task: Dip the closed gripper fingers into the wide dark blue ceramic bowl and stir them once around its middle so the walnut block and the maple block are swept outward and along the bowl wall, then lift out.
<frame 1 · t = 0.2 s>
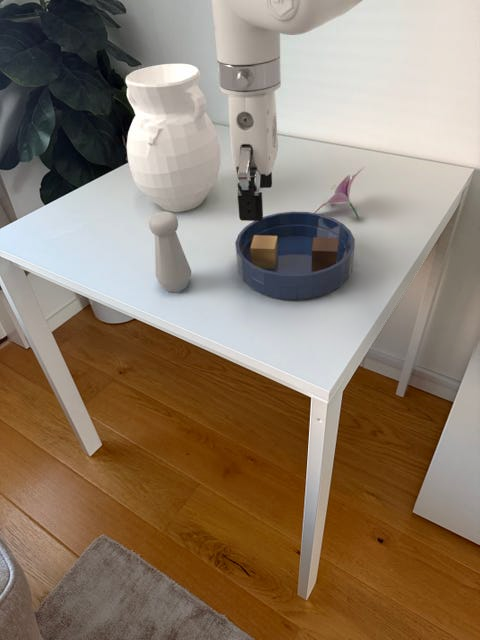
hand: (256, 202, 69), 14 cm above the table, tool pointing down, fingers open, 9 cm apart
lily: (338, 214, 94), on the table
salt shaker: (176, 286, 80), on the table
bowl: (294, 266, 82), on the table
white vase: (182, 201, 102), on the table
maple block: (264, 261, 82), point 1 cm above the table, touching bowl
walnut block: (324, 264, 80), point 1 cm above the table, touching bowl
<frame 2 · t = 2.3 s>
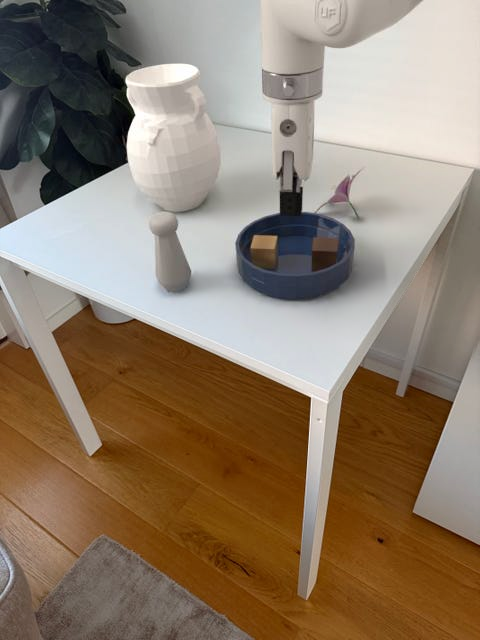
hand: (290, 213, 72), 12 cm above the table, tool pointing down, fingers closed
nothing on the table moved.
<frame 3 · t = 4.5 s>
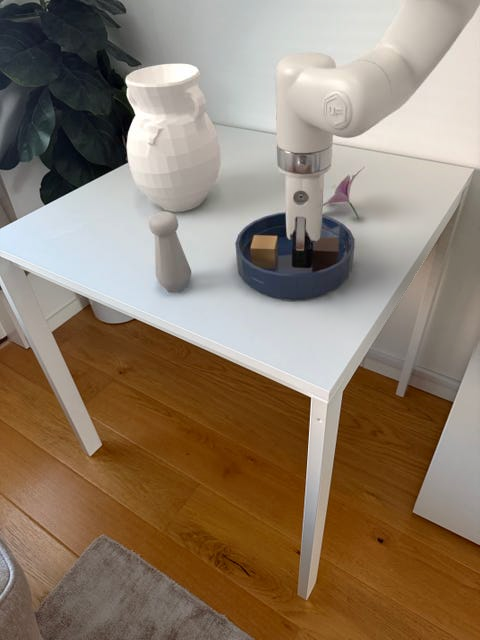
hand: (302, 264, 78), 2 cm above the table, tool pointing down, fingers closed
walnut block: (324, 264, 80), point 1 cm above the table, touching bowl, gripper
everything else where it was.
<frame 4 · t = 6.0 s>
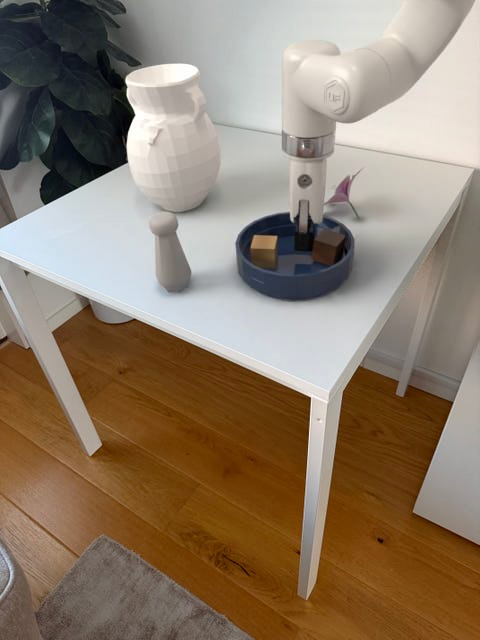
hand: (304, 248, 81), 3 cm above the table, tool pointing down, fingers closed
walnut block: (326, 258, 81), point 1 cm above the table, touching bowl, gripper
everything else where it was.
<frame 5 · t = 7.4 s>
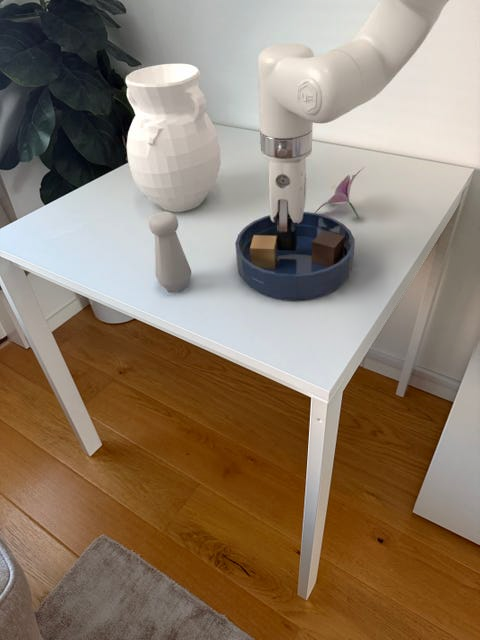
hand: (287, 247, 82), 2 cm above the table, tool pointing down, fingers closed
maple block: (264, 261, 82), point 1 cm above the table, touching bowl, gripper
walnut block: (327, 258, 82), point 1 cm above the table, touching bowl
everything else where it was.
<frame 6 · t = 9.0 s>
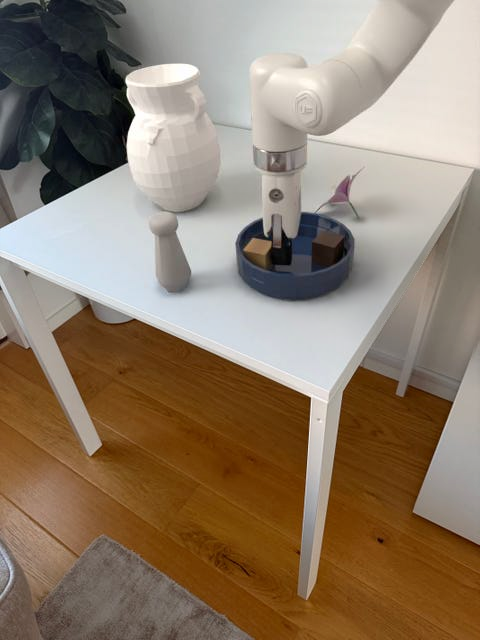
hand: (282, 262, 80), 2 cm above the table, tool pointing down, fingers closed
maple block: (260, 266, 81), point 1 cm above the table, touching bowl
everything else where it was.
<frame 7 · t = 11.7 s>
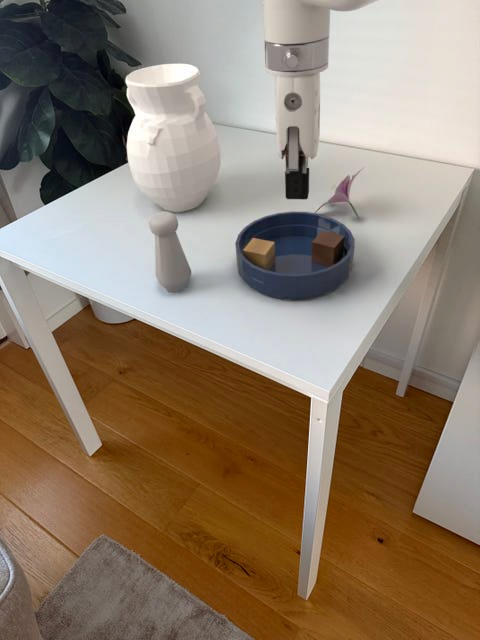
hand: (297, 196, 69), 15 cm above the table, tool pointing down, fingers closed
nothing on the table moved.
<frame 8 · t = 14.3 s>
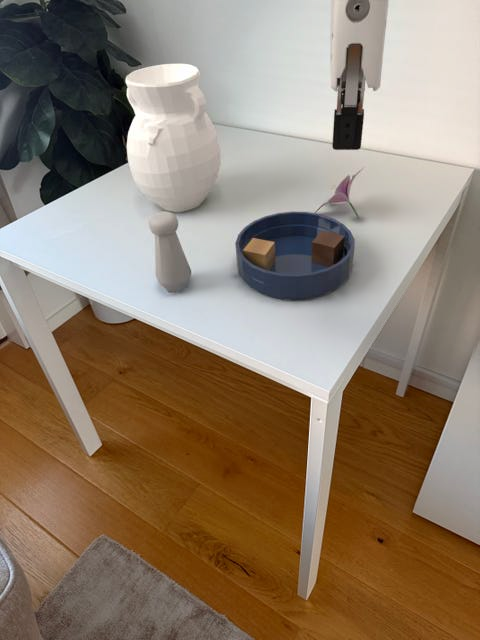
hand: (346, 146, 56), 25 cm above the table, tool pointing down, fingers closed
nothing on the table moved.
at the end: walnut block moved 1.7 cm from its start; walnut block inside the target area in the bowl (5.8 cm from its centre), point 0.6 cm above the bowl's base; maple block inside the target area in the bowl (5.8 cm from its centre), point 0.6 cm above the bowl's base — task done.
